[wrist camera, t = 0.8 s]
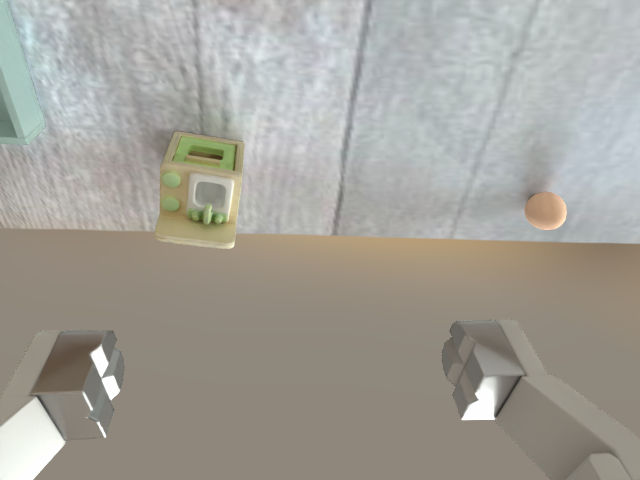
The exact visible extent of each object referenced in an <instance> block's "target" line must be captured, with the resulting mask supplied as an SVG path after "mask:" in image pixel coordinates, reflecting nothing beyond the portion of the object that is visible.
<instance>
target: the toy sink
mask: <svg viewBox="0 0 640 480" xmlns="http://www.w3.org/2000/svg"><path fill="white" fill-rule="evenodd" d="M244 145H245V144H244V142H241V141H235V140H229V139H223V138H217V137H211V136H205V135H199V134H193V133H187V132H180V131H175V132H174V133H173V136H172V139H171V141H170V144H169V146H168V149H167V152H166V154H165V157H164V160H163V162H162V164H161V166H160V215H159V219H158V222H157V225H156V228H155V232H154V237H155V238H156V239H157V240H159V241H162V242H170V243H177V244H186V245H194V246H203V247H210V248H220V249H230V248H233V247H234V242H235V233H236V223H237V215H238V207H239V199H240V191H241V184H242V172H243V158H244Z"/></svg>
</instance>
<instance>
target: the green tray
mask: <svg viewBox="0 0 640 480" xmlns="http://www.w3.org/2000/svg"><path fill="white" fill-rule="evenodd" d="M45 127H46V125H45V122H44V118H43V115H42V112H41V109H40V105H39V102H38V99H37V96H36V92H35V89H34V86H33V82H32V79H31V76H30V73H29V69H28V66H27V63H26V60H25V56H24V53H23V50H22V46H21V43H20V40H19V37H18V33H17V30H16V27H15V24H14V20H13V17H12V14H11V10H10V7H9V4H8V1H7V0H0V144H17V145H28V144H29V143H30V142H31V141H32V140H33V139H34V138H35V137H36V136H37V135H38V134H39V133H40V132H41V131H42V130H43V129H44V128H45Z"/></svg>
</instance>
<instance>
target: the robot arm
mask: <svg viewBox="0 0 640 480" xmlns="http://www.w3.org/2000/svg"><path fill="white" fill-rule="evenodd" d="M450 333H451V336H452V337H451V338H450V339H449V340H447V341H446V342H445V344H444V347H443V350H442V364H443V370H444V372H445V375H446V378H447V379H448V380H449V381H450V382H451V383H452V384H453V385H454V386H455V389H454V392H453V398H454V401H455V403H456V406H457V408H458V411H459V414H460V417H461V419H462V420H471V419H472V420H474V419H495V422H496V423H497V424H498V425H499V426H500V427H501V428H502V429H503V430H504V431H505V432H506V434H508V436H509V437H510V438H511V439H512V440H513V441H514V442H515V443H516V444H517V445H518V446H519V447H520V448H521V449H522V450H523V451H524V452H525V453H526V455H527V456H528V457H529V458H530V459H531V460H532V461H533V462H534V463H535V464H536V465H537V466H538V467H539V468H540V469H541V470H542V471H543V472H544V473H545V475H546V476H547V477H548V478H549V479H550V480H640V438H639V437H637V436H636V435H635V434H633V433H632V432H631V431H629V430H628V429H627V428H625V427H624V426H623V425H621V424H620V423H619V422H617V421H616V420H614V419H613V418H612V417H610V416H609V415H608V414H606V413H605V412H603V411H602V410H601V409H600V408H598V407H597V406H595V405H594V404H593V403H591V402H590V401H589V400H587V399H586V398H585V397H583V396H582V395H581V394H579V393H578V392H577V391H575V390H574V389H572V388H571V387H570V386H568V385H567V384H566V383H564V382H563V381H562V380H560V379H559V378H558V377H556V376H555V375H548V373H547V372H546V370H545V368H544V366H543V365H542V363H541V361H540V359H539V358H538V356H537V354H536V352H535V351H534V349H533V347H532V346H531V344H530V342H529V340H528V339H527V337H526V335H525V333H524V332H523V330H522V328H521V327H520V325H519V323H518V322H516V321H515V320H494V321H493V320H475V321H456V322H454V323H453V324H452V326H451V328H450ZM116 341H117V339H116V337H115V335H114V332H113V331H40V332H39V333H38V334H36V335H35V336H34V337H33V339H32V341H31V342H30V344H29V346H28V348H27V350H26V352H25V354H24V355H23V357H22V359H21V361H20V363H19V365H18V366H17V368H16V370H15V372H14V374H13V376H12V378H11V379H10V381H9V383H8V385H7V387H6V389H5V391H4V393H3V394H2V396H1V397H0V480H33V479H34V478H35V477H36V476H37V474H38V473H39V472H40V471H41V470H42V469H43V468H44V467H45V465H46V464H47V463H48V462H49V461H50V460H51V459H52V458H53V457H54V456H55V454H56V453H57V452H58V451H59V450H60V449H61V448H62V447H63V445H64V444H65V441H69V440H82V439H95V438H105V437H106V435H107V432H108V429H109V425H110V422H111V419H112V416H113V413H114V408H113V405H112V403H111V400H112V399H113V398H114V397H115V396H116V395H117V394H118V393H119V392H120V389H121V386H122V382H123V377H124V359H123V356H122V353H121V352H120V351H119V350H117V349H116V348H114V347H115V344H116Z"/></svg>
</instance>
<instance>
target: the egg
mask: <svg viewBox="0 0 640 480" xmlns="http://www.w3.org/2000/svg"><path fill="white" fill-rule="evenodd" d="M525 215H526V218H527V220H528V221H529V222H530V223H531V224H532V225H533V226H535V227H536V228H539V229H543V230H552V229H556V228H558V227H559V226H561V225H562V224H563V222H564V221H565V219H566V215H567V210H566V205H565V203H564V201H563V200H562V199H561V198H560V197H559V196H558V195H556V194H554V193H551V192H541V193H537V194H535V195H534V196H532V197H531V198H530V199H529V200H528V201H527V203H526V206H525Z"/></svg>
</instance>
